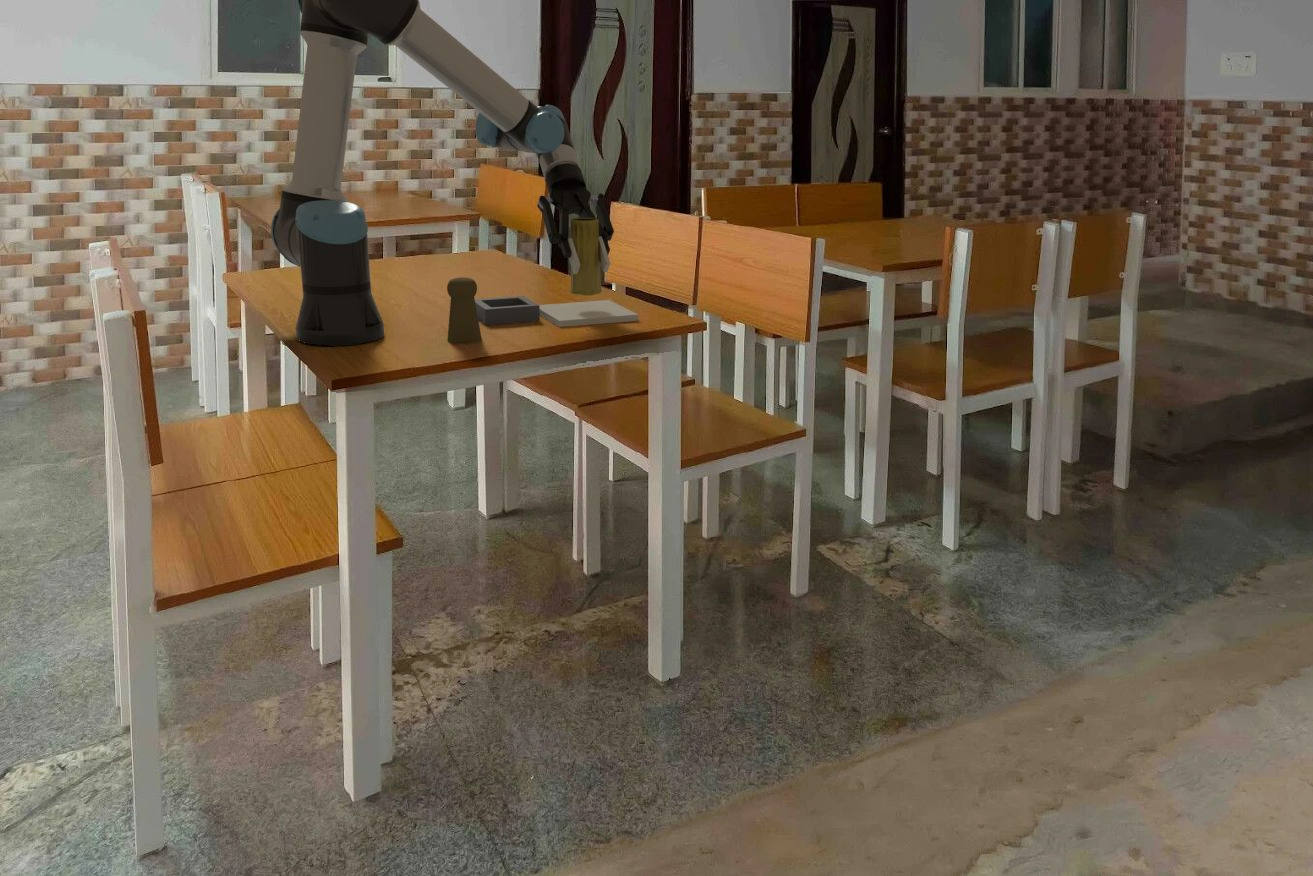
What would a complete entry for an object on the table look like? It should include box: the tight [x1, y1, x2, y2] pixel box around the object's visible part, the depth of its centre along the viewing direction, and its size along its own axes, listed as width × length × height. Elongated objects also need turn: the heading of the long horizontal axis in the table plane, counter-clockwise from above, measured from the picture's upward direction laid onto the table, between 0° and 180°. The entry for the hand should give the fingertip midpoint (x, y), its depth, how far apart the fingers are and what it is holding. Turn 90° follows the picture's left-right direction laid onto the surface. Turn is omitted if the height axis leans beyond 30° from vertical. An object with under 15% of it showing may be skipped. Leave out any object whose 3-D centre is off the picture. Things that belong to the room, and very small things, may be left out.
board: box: [538, 299, 639, 328], centre depth 218 cm, size 16×16×1 cm
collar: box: [475, 295, 541, 326], centre depth 215 cm, size 11×11×3 cm
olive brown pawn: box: [446, 276, 483, 345], centre depth 195 cm, size 6×6×11 cm
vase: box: [569, 217, 603, 297], centre depth 214 cm, size 6×6×14 cm
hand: (592, 268), depth 212 cm, fingers closed on vase, 5 cm apart
